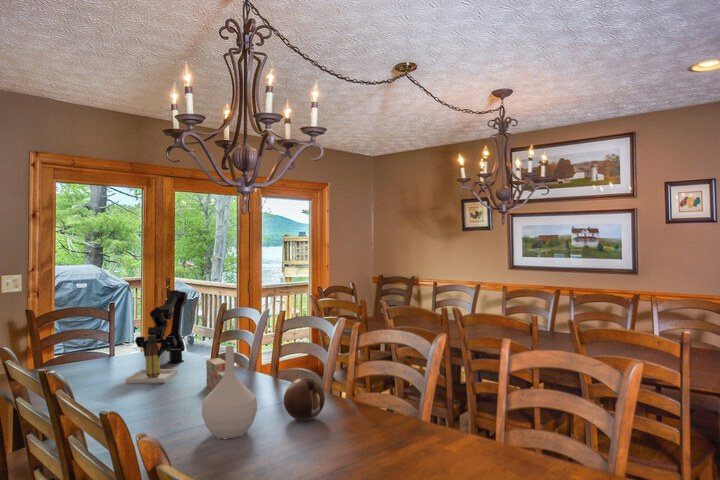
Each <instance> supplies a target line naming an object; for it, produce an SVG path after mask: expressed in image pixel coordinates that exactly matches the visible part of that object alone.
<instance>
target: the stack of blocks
mask: <svg viewBox="0 0 720 480" xmlns="http://www.w3.org/2000/svg"><path fill="white" fill-rule="evenodd" d="M205 362H206V363H205V364H206V366H205V367H206V386H207V387H208V389H210V390H211V391H212V390H213V389H214V388H215V387H216V386H217V384H218V383H219V382H220V381H221V379H222V378H223V376H224V374H225V360H224V359H222V358H221V357H217V358H209V359H206V361H205Z"/></svg>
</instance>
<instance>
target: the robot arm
mask: <svg viewBox="0 0 720 480" xmlns="http://www.w3.org/2000/svg"><path fill="white" fill-rule="evenodd" d="M188 298H189V296H188V293H187V292H186V291H180V290H176V289H175V290H169V293H168V296H167V298H166V300H165V302H164V303H163V304H162V305H160V306H156V307H155V309H152V310H151V311H150V313H149V315H150V318H151V320H152V322H153V324H154V326H151V327H150V326H149V327H148V328H147V334H148V335H152V334H155V335H157V338H156V342H157V345H158V344H160V346H159V352H158V357H159V356H160V357H161V355H162V354H164V353H165V351H166V352H168V353H169V354H168V359H169V360H166V363H167V364H168V363H169V364H178V363H182V362H185V360H184V359H183V352H184V351H185V348H186V347H185V344H184V341H183V337H182V335H181V325H182V315H183V308H184V307H185V306H186V304H187V300H188ZM171 319H172V320H171ZM168 320H169V321H170V320H171V321H172V322H171V330H170V333H169V334H167V335H166V332H167V331H166V330H167V328H168V327H169V322H168ZM134 342H135V344H136V346H137V348H142V349H143V356H144V358H146V348H147V346H148V338H146V337H145V336H137V337H135V339H134Z"/></svg>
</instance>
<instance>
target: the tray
mask: <svg viewBox="0 0 720 480" xmlns="http://www.w3.org/2000/svg"><path fill="white" fill-rule="evenodd" d="M177 374H178V368H164V369H163V368H160V375H159V376H156V377H148V376H147V374H146V369H140V370H138V371H137V372H135V373H133V374H131V376H128V377H127V378H126V379H125V385H137V384H140V385H141V384H143V385H144V384H146V385H147V384H148V385H149V384H166V383H167V382H169V381H170V380H171V379H172V378H174V377H175V376H176V375H177Z"/></svg>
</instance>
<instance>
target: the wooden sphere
mask: <svg viewBox="0 0 720 480" xmlns="http://www.w3.org/2000/svg"><path fill="white" fill-rule="evenodd" d="M325 397H326V396H325V392H324V389H323V387H322V385H321V384H319V382H317V381H316V380H314V379H312V378H308V377H301V378H297V379H295V380H294V381H292V382H291V383H290V384H289V385H288V386H287V388H285V392H284V395H283V405H284V409H285V411H286V412H287V414H288V415H289V416H290V417H292V418H293V420H294V419H295V420H296V421H297V420H298V421H301V422H305V421H307V422H308V421H311V420H312V419H315V418H316V417H318V416H319V415H320V413H321V412H322V410H323V409H324V407H325V402H326V399H325Z"/></svg>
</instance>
